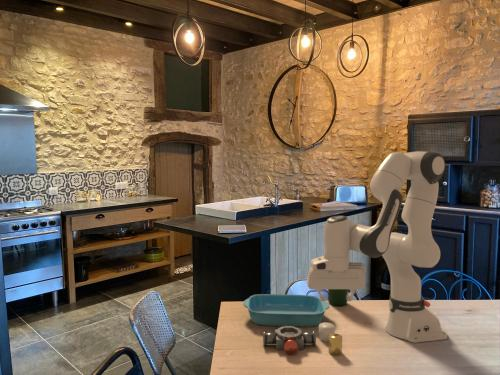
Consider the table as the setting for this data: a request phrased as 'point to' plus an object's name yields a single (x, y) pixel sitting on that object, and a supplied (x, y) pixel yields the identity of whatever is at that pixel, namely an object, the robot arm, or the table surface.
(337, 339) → the brass coupling
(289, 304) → the casserole dish
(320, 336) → the cream pebble-shaped knob
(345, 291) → the bottle
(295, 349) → the valve body
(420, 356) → the table surface
